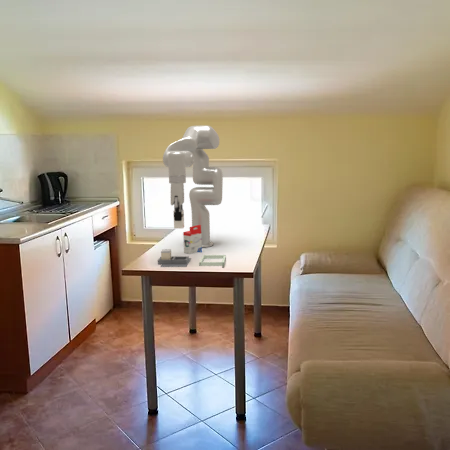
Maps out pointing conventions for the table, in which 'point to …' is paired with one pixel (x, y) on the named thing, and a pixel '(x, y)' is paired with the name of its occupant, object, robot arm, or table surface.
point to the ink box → (193, 240)
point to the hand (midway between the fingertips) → (178, 219)
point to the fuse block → (172, 259)
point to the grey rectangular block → (179, 223)
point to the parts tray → (213, 262)
